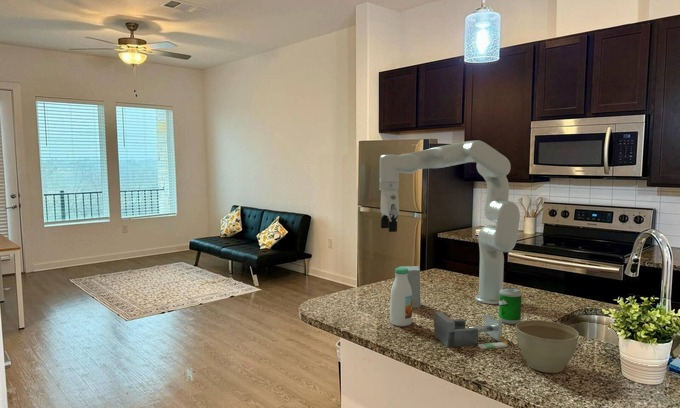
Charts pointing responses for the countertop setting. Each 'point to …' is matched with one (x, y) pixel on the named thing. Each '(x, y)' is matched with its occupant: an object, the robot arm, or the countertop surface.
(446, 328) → the bracket
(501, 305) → the soda can
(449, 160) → the robot arm
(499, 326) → the plunger
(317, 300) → the countertop surface
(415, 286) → the skincare box
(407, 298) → the milk bottle
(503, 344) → the strip
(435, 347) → the countertop surface
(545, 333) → the planter bowl
